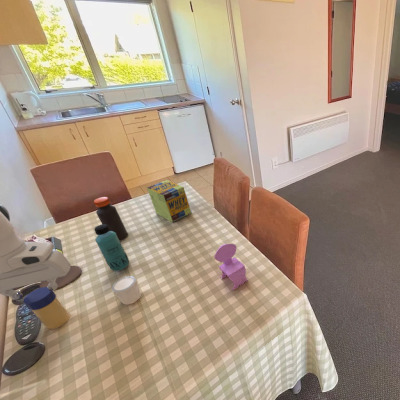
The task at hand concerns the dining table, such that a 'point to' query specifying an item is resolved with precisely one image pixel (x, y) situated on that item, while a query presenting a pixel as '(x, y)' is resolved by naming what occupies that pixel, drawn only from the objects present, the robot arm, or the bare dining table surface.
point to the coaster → (65, 278)
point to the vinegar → (110, 217)
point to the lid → (39, 298)
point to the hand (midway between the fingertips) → (36, 292)
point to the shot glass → (127, 290)
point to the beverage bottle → (111, 248)
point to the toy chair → (231, 264)
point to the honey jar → (52, 314)
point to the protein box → (169, 200)
